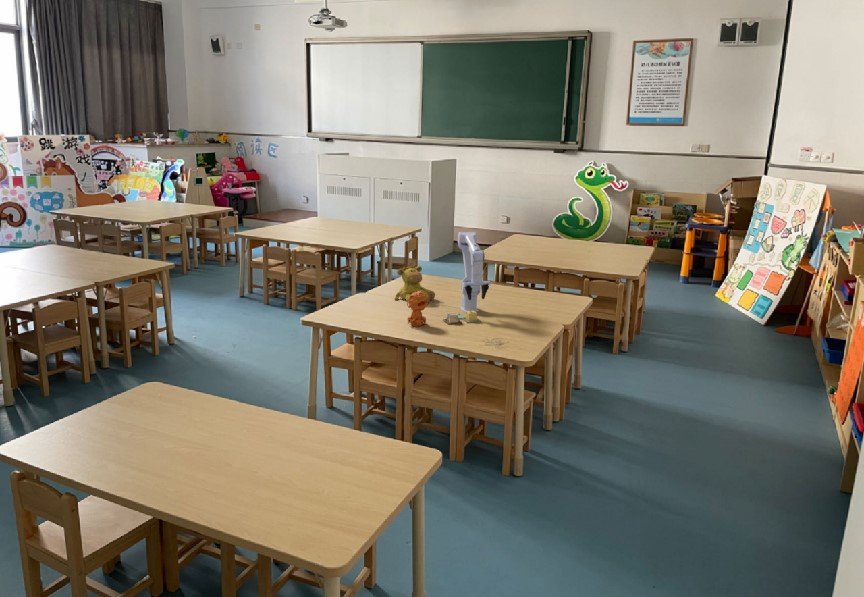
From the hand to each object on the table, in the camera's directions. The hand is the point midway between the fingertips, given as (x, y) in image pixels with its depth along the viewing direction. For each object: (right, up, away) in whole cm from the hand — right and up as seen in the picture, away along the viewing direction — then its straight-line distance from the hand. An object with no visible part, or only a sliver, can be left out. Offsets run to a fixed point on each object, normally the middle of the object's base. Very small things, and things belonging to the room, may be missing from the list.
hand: (476, 299), depth 352 cm
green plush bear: (-33, -1, +34) cm, 48 cm away
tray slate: (-3, -11, -4) cm, 12 cm away
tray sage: (-10, -10, +1) cm, 14 cm away
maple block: (-13, -12, -7) cm, 19 cm away
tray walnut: (-13, -12, -7) cm, 19 cm away
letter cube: (-3, -11, -4) cm, 12 cm away
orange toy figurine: (-31, -13, -12) cm, 36 cm away
